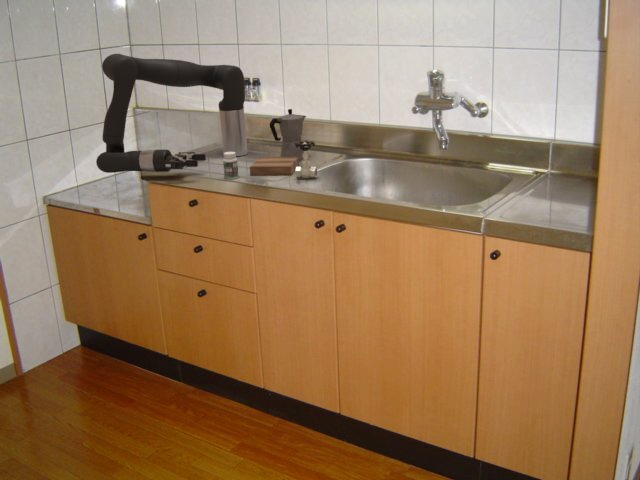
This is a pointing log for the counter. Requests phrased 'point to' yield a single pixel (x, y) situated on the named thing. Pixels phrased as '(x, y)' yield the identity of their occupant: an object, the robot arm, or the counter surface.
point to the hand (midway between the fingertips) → (201, 160)
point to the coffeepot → (289, 133)
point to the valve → (305, 162)
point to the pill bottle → (230, 165)
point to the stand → (274, 166)
